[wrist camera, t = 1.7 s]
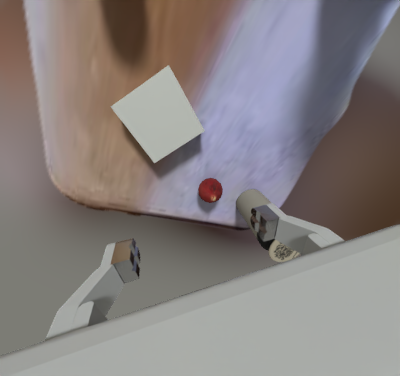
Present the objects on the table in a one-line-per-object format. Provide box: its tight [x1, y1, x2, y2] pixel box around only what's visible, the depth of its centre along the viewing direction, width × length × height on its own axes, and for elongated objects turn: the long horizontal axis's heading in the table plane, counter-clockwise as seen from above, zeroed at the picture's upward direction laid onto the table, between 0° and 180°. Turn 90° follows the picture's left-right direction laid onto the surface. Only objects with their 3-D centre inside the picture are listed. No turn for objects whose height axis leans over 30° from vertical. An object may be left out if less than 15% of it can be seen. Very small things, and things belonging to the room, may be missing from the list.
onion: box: [198, 178, 223, 203], centre depth 39 cm, size 6×6×8 cm
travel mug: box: [236, 189, 300, 262], centre depth 39 cm, size 8×8×18 cm
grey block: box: [111, 65, 204, 163], centre depth 32 cm, size 12×12×5 cm
